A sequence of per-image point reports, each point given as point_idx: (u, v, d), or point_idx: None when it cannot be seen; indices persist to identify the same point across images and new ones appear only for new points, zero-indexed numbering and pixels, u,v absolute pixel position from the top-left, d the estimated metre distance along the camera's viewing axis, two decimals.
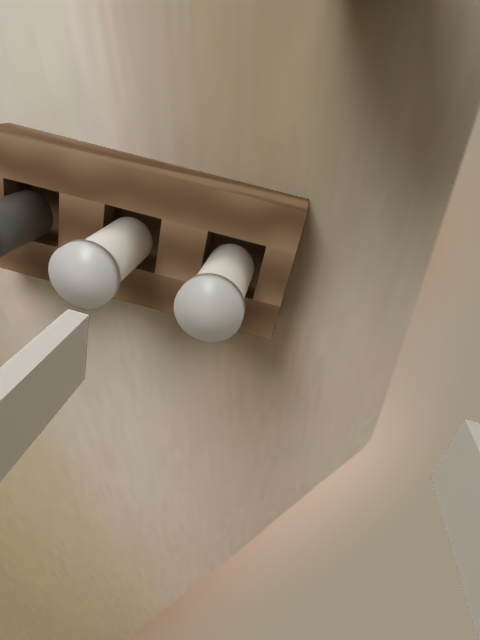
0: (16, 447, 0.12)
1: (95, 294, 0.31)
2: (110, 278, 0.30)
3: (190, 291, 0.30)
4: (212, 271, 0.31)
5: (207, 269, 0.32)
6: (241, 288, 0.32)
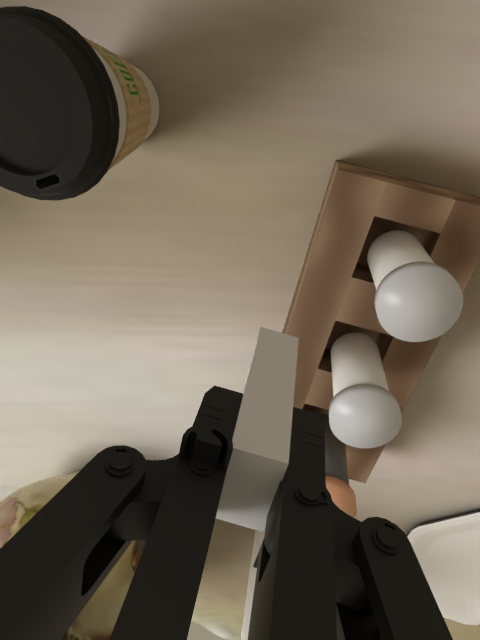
0: None
1: (384, 413, 0.30)
2: (368, 396, 0.29)
3: (391, 322, 0.27)
4: None
5: None
6: (404, 259, 0.28)
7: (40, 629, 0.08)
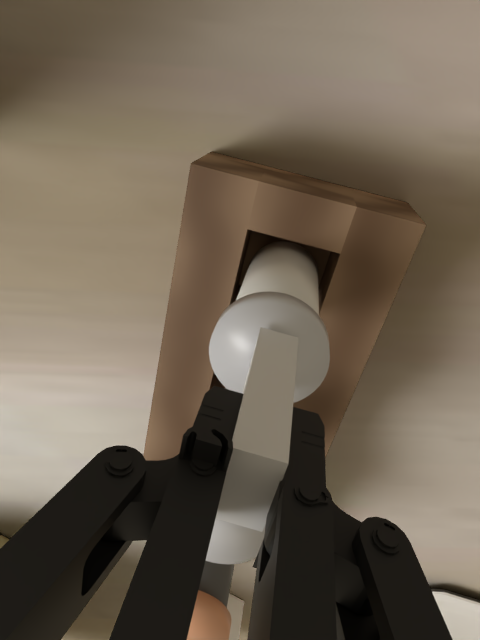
0: None
1: None
2: None
3: (233, 377, 0.18)
4: None
5: None
6: (259, 286, 0.19)
7: (40, 630, 0.08)
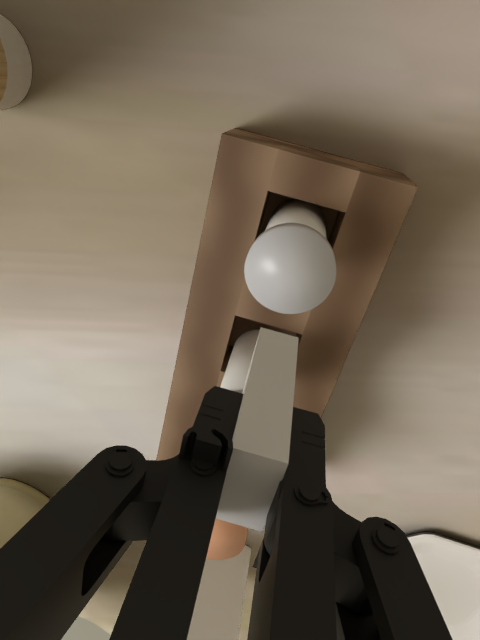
0: None
1: None
2: None
3: (262, 290, 0.24)
4: None
5: None
6: (282, 223, 0.25)
7: (41, 629, 0.08)
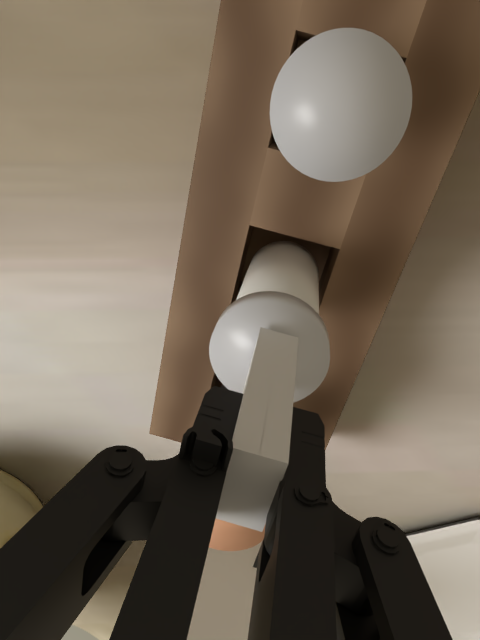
0: None
1: (299, 340, 0.17)
2: (268, 308, 0.17)
3: (296, 144, 0.16)
4: None
5: None
6: None
7: (41, 629, 0.08)
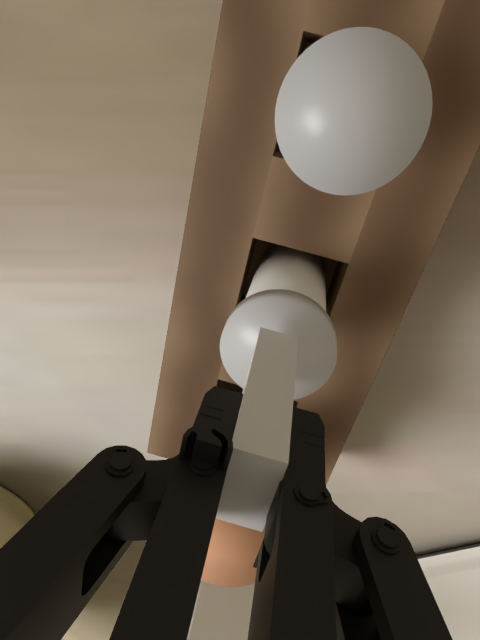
0: None
1: (307, 337, 0.18)
2: (277, 306, 0.17)
3: (303, 155, 0.15)
4: None
5: None
6: None
7: (40, 630, 0.08)
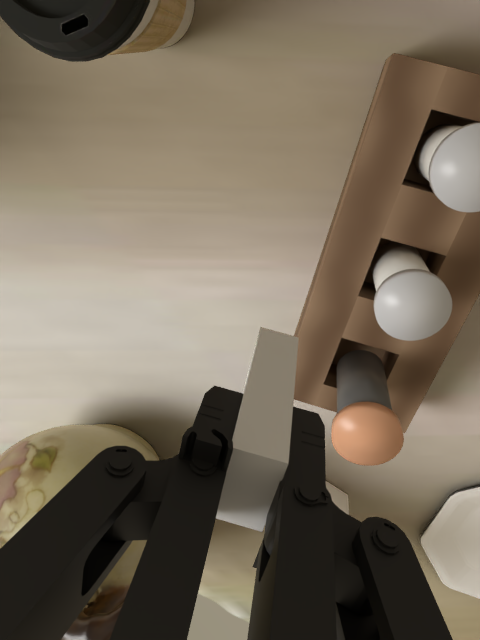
0: None
1: (434, 298, 0.29)
2: (417, 278, 0.28)
3: (446, 189, 0.26)
4: None
5: None
6: None
7: (41, 629, 0.08)
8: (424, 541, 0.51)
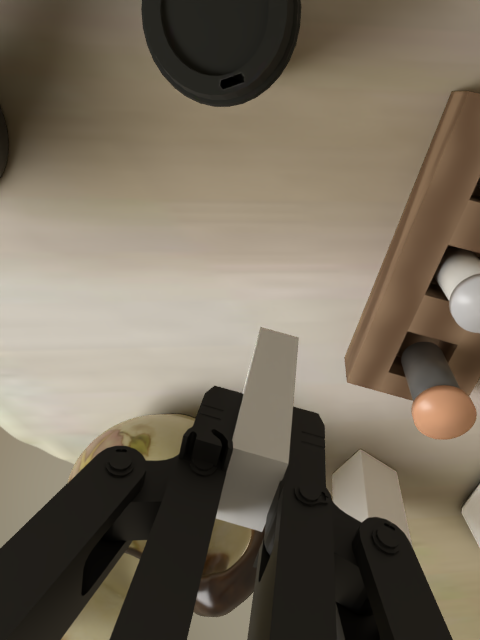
0: None
1: None
2: None
3: None
4: None
5: None
6: None
7: (40, 629, 0.08)
8: (465, 511, 0.58)
